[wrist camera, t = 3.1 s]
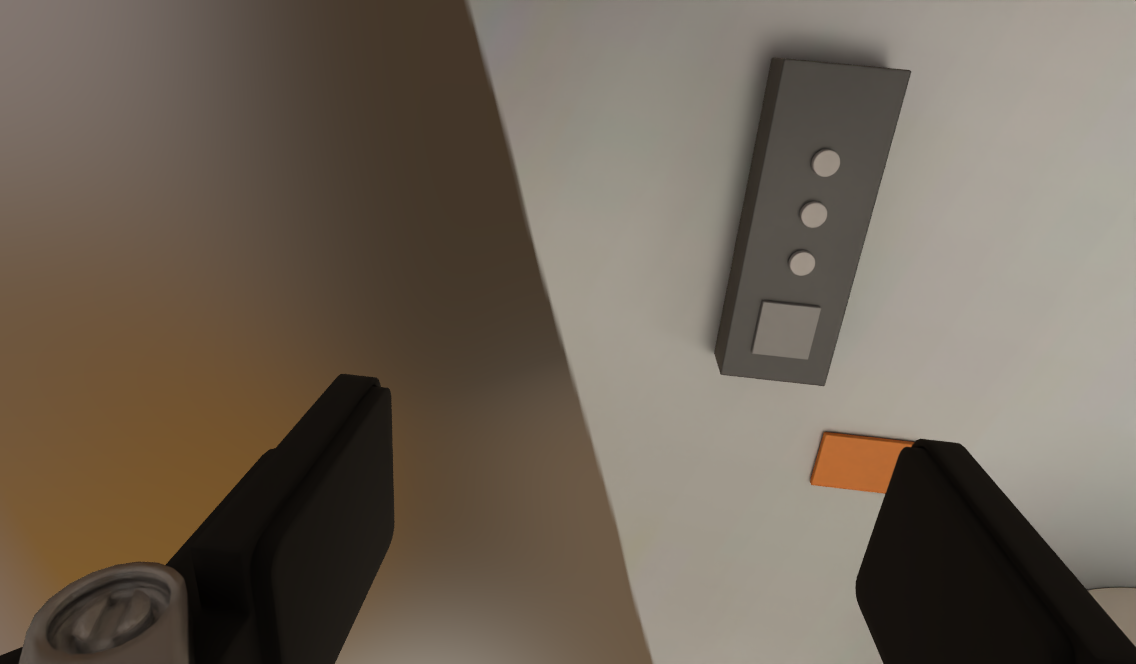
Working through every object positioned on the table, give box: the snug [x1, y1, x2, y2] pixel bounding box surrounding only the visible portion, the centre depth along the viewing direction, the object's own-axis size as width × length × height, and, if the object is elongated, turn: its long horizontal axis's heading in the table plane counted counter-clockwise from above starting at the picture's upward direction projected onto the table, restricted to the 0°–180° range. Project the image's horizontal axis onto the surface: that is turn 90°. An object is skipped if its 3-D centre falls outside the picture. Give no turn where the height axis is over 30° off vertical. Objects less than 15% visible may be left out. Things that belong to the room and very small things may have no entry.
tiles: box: [810, 432, 914, 494], centre depth 28 cm, size 26×5×1 cm, turn 175°
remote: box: [714, 58, 911, 386], centre depth 27 cm, size 13×5×2 cm, turn 175°
